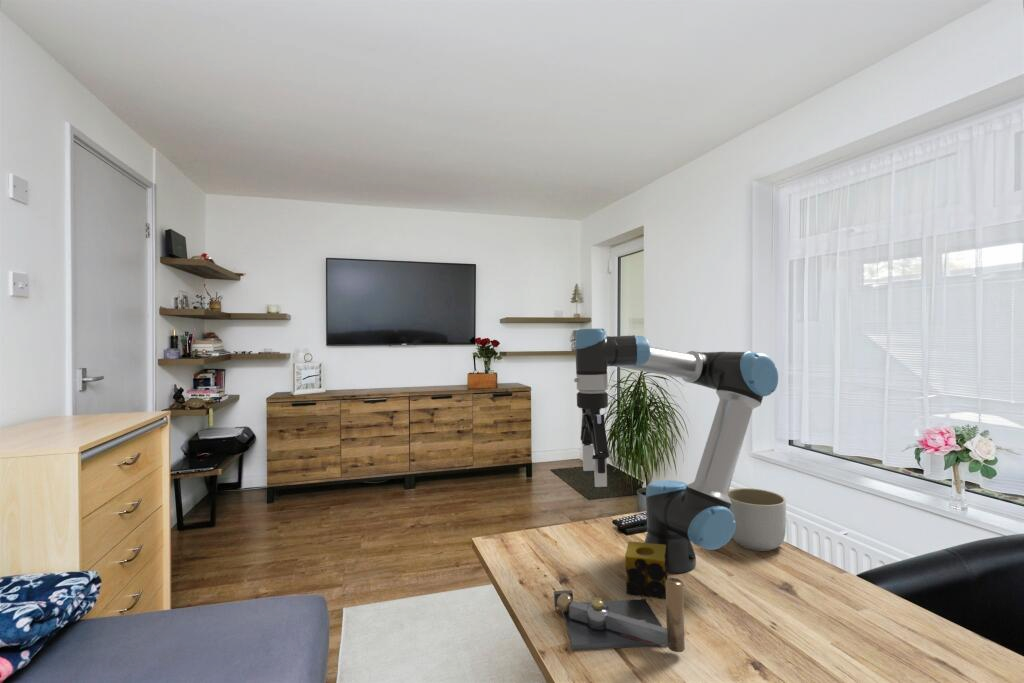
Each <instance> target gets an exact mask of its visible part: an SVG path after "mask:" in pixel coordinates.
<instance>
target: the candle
mask: <svg viewBox="0 0 1024 683" xmlns="http://www.w3.org/2000/svg"><path fill="white" fill-rule="evenodd" d="M665 553H666V545H664V544H652V543H644V542H641V541H628V543H627V548H626V550H625V555H624V560H625V561H624V562H625V570H626V571H625V572H626V573H625V575H626V577H625V578H626V581H625V587H626V590H625V592H626V594H627V595H632V596H639V597H646V598H652V599H653V598H655V599H659V600H666V582H665V581H666V579H668V578H669V577H668V572H667V564H666V554H665Z"/></svg>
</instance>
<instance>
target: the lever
mask: <svg viewBox="0 0 1024 683" xmlns="http://www.w3.org/2000/svg"><path fill="white" fill-rule="evenodd" d="M665 582H666V599H665V606H666V607H665V608H666V609H665V611H666V612H665V613H666V614H665V615H666V627H664V626H662V627H661V626H657V625H654V624H651V623H647V622H644V621H640V620H637V619H633V618H630V617H626V616H623V615H619V614H616V613H612V612H609V608H608V606H607V605H605V604H603V605H604V608H603V609H601V610H595V609H593V608H592V603H590V604H588V605H587V604H584V603H580V602H579V601H576V600H573V602H572V603H571V604H570V605H569V614H570V618H572V619H575V620H579V621H582V622H585V623H588V625H589V626H590V627H591V628H593V629H598V630H602V629H605V628H607V629H611V630H614V631H617V632H620V633H624V634H627V635H630V636H633V637H637V638H640V639H643V640H646V641H650V642H653V643H656V644H659V645H663V646H662V647H666V648H668V649H669V650H670V651H672V652H674V653H681V652H684V651H685V649H686V648H685V647H686V646H685V642H686V641H685V617H684V616H685V615H684V614H685V612H684V611H685V610H684V582H683V581H682V580H681V579H679V578H676V577H668V579H666V581H665Z"/></svg>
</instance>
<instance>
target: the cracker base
mask: <svg viewBox="0 0 1024 683" xmlns="http://www.w3.org/2000/svg"><path fill="white" fill-rule="evenodd" d="M573 595H574V592H573V590H572V589H569V590H568V589H566V590H554V591H553V602H554V607H555V608H558V610H559V611H560V612H562V616H563V619H564V624H565V627H566V632H567V634H568V638H569V639H568V640H569V643H570V646H571V649H572V651H573V652H574V651H588V650H589V651H591V650H593V651H594V650H607V649H608V650H609V649H610V650H611V649H625V648H627V649H628V648H642V647H643V648H645V647H646V648H647V647H658V646H659V647H661V646H662V647H664V646H663V645H659V644H656V643H653V642H650V641H646V640H643V639H640V638H637V637H633V636H630V635H627V634H624V633H620V632H617V631H614V630H611V629H607V628H605V629H602V630H598V629H593V628H591V627H590V626H589V625H588V623H585V622H582V621H579V620H575V619H572V618H570V614H569V605H570V604H571V603H572V602H573V601H574V596H573ZM580 603H584V604H587V605H588V604H590V603H592V608H593V609H595V610H601V609H603V608H604V605H603V604H605V605H607V606H608V608H609V612H612V613H616V614H619V615H623V616H626V617H630V618H633V619H637V620H640V621H644V622H647V623H651V624H654V625H657V626H661V627H663V625H662V623H661V622H660V621H659V619H658V618H657V615H656V614H655V612H654V611H653V609H652V607H651V606H650V604H649V602H648V601H647V599H646V598H638V599H619V600H616V599H615V600H604V599H603V598H601V597H599V596H597V597H593V598H591V601H581V602H580Z"/></svg>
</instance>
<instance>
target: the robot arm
mask: <svg viewBox="0 0 1024 683" xmlns="http://www.w3.org/2000/svg"><path fill="white" fill-rule="evenodd" d="M650 344H651V343H650V341H649V340H648V338H647V337H645V336H643V335H633V334H631V335H616V336H615V335H613V336H608V335H607V331H606V329H605V328H602V327H601V328H597V327H596V328H581V329H578V330H577V331H576V333H575V340H574V349H575V370H576V371H575V373H576V377H575V378H574V379H573V382H574V383H576V390H577V391H578V392H577V393H576V406H577V407H578V408H579V409H581V412H582V413H581V414H582V415H581V416H582V418H581V430H580V441H581V443H582V470H583V472H590V471H591V472H592V471H593V473H594V474H593V475H594V487H595V488H602V487H603V488H604V487H606V488H607V487H608V474H607V472H608V470H607V468H608V467H607V458H609V457H610V453H609V447H608V446H609V445H608V439H607V432H606V425H605V418H606V417H605V415H604V414H601V409H606V408H608V406H609V400H608V399H609V397H608V396H609V394H608V393H607V391H608V390H609V387H608V386H609V385H608V367H616V368H622V369H627V370H634V371H640V372H644V373H651V374H656V375H662V376H669V377H675V378H679V379H682V380H683V381H684V382H686V383H690V384H694V385H698V386H702V387H706V388H709V389H712V390H716V391H715V393H716V394H717V397H718V399H719V401H718V404H717V407H716V410H715V414H714V416H713V421H712V423H711V425H710V426H711V427H710V428H709V434H708V437H707V438H706V439H707V440H706V442H705V446H704V449H703V452H702V456H701V459H700V461H699V465H698V468H697V471H696V475H695V478H694V481H692V482H691V483H689V484H687V483H686V482H684V481H681V480H680V481H679V480H672V479H671V480H656V481H652V482H649V483H648V484H647V486H646V488H645V489H646V490H645V501H646V504H645V505H646V531H647V532H646V536H645V538H644V542H643V543H652V544H664V545H666V553H665V554H666V564H667V573H670V574H671V573H673V574H674V573H675V574H680V573H686V572H690V571H692V570H693V569H695V568H696V566H697V560H696V558H697V557H696V553H695V550H694V548H693V545H694V546H699V547H701V548H703V549H705V550H708V551H709V550H710V551H711V550H718V549H720V548H721V547H723V546H726V545H727V544H728V543H729V542H730V540H731V539H733V538H732V536H733V534H734V531H735V520H734V515H733V514H732V512H731V511H730V506H731V500H730V499H729V497H728V490H730V487H731V483H732V479H733V476H734V473H735V470H736V466H737V462H738V459H739V456H740V453H741V451H742V446H743V444H744V440H745V437H746V433H747V430H748V426H749V423H750V420H751V416H752V413H753V410H754V409H755V408H758V407H760V406H762V402H763V399H764V397H768V396H770V395H772V393H774V392H775V391H776V390H777V387H778V384H779V371H778V368H777V367H776V364H775V362H774V360H773V359H772V358H771V356H769V355H768V354H765V353H763V352H756V351H755V352H754V351H711V352H710V351H709V352H707V351H705V352H704V351H703V352H702V351H701V352H700V351H697V350H695V351H694V350H690V351H688V352H683V351H677V350H673V349H672V350H670V349H666V348H660V347H655V346H651V345H650ZM692 544H693V545H692Z"/></svg>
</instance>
